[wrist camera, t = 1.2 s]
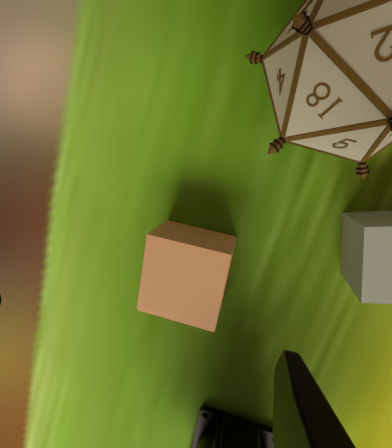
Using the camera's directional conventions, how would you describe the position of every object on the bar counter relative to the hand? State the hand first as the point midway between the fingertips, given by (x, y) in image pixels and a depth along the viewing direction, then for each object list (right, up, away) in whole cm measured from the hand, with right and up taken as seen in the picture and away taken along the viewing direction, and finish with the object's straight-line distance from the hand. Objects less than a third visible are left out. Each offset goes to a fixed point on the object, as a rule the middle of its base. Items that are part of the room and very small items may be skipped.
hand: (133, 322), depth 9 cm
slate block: (+13, +2, +9) cm, 16 cm away
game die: (+10, +11, +8) cm, 16 cm away
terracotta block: (+2, 0, +12) cm, 12 cm away
